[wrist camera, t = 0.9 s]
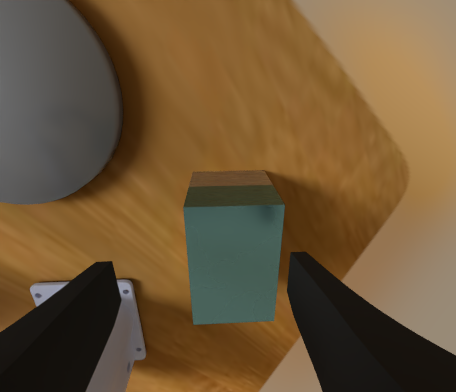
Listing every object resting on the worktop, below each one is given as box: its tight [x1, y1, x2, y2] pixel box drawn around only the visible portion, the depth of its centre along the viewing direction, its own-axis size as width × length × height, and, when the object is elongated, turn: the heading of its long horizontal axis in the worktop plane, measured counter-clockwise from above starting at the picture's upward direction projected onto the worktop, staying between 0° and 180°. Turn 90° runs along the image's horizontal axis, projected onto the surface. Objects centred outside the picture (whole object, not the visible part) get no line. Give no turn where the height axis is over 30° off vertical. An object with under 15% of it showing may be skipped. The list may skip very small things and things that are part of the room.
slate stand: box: [0, 0, 123, 204], centre depth 14 cm, size 13×13×2 cm
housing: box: [183, 170, 285, 325], centre depth 16 cm, size 8×5×6 cm, turn 0°
